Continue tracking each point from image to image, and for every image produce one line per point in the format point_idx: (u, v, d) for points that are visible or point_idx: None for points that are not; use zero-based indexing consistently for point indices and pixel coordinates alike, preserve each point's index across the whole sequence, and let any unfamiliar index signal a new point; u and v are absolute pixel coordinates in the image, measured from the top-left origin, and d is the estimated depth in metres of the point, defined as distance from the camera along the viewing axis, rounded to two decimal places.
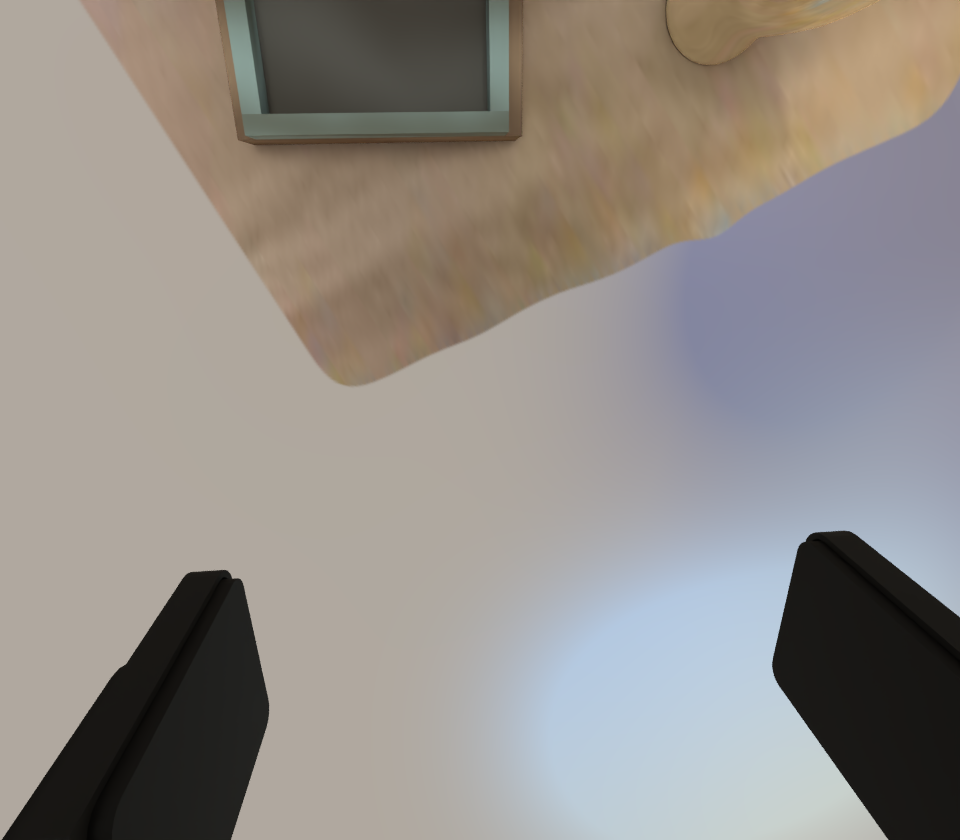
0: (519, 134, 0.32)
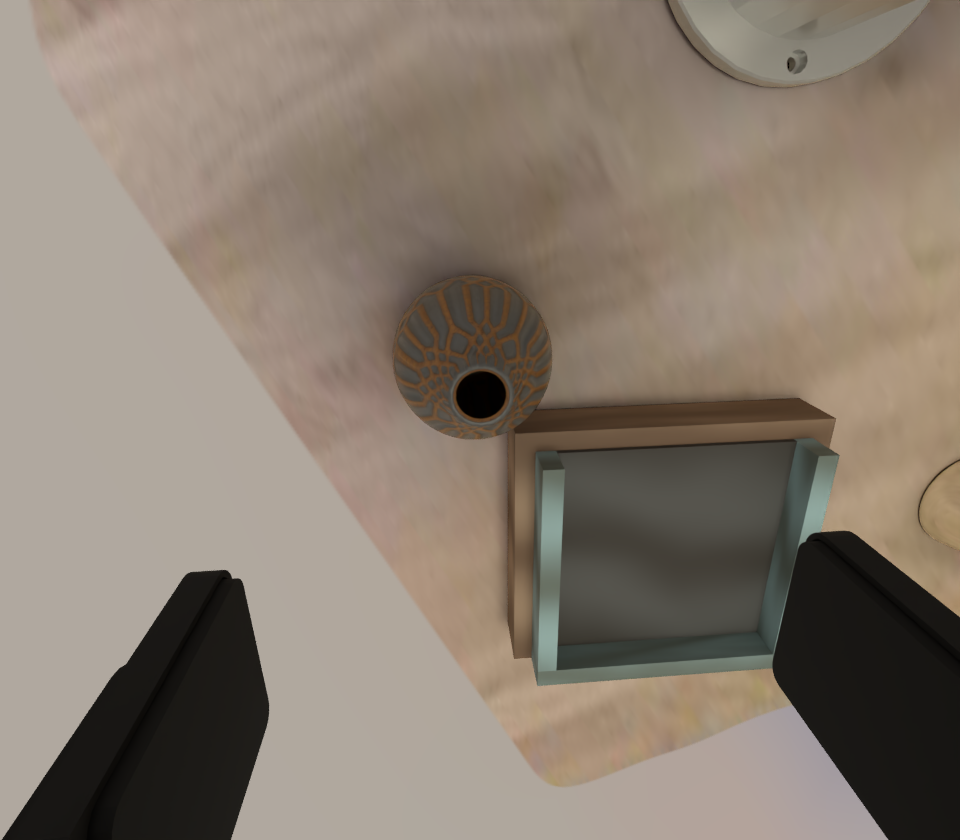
0: None
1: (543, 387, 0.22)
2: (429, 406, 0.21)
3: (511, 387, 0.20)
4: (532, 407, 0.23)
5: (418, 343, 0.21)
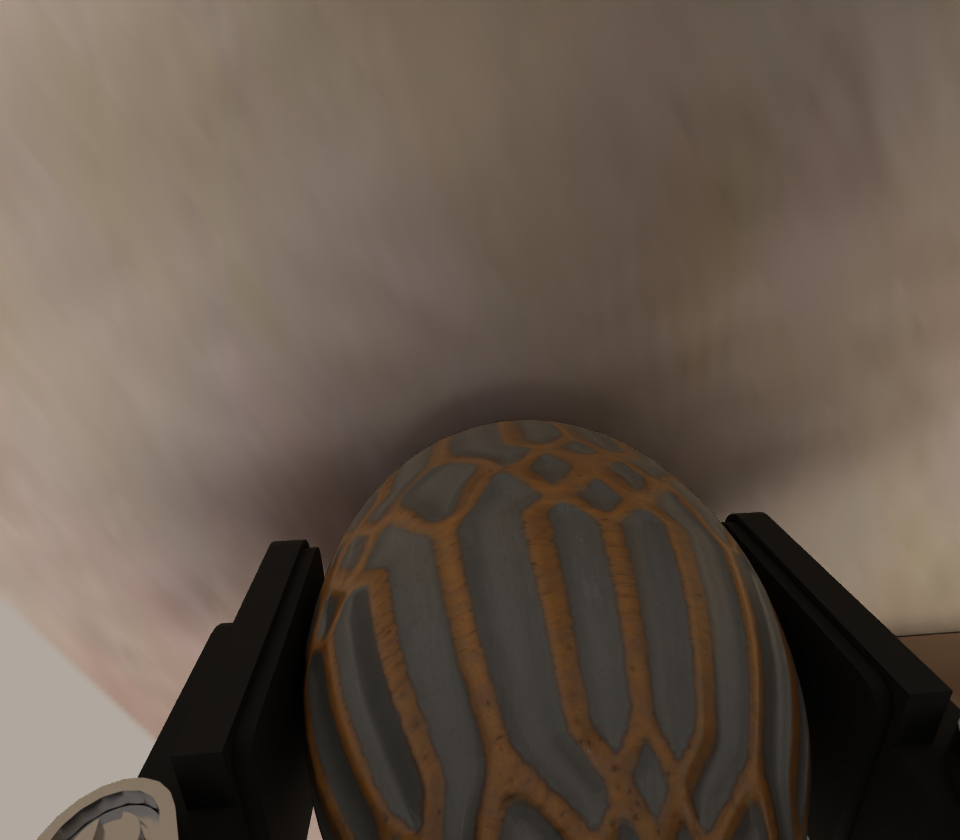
0: None
1: None
2: None
3: None
4: None
5: (364, 772, 0.05)
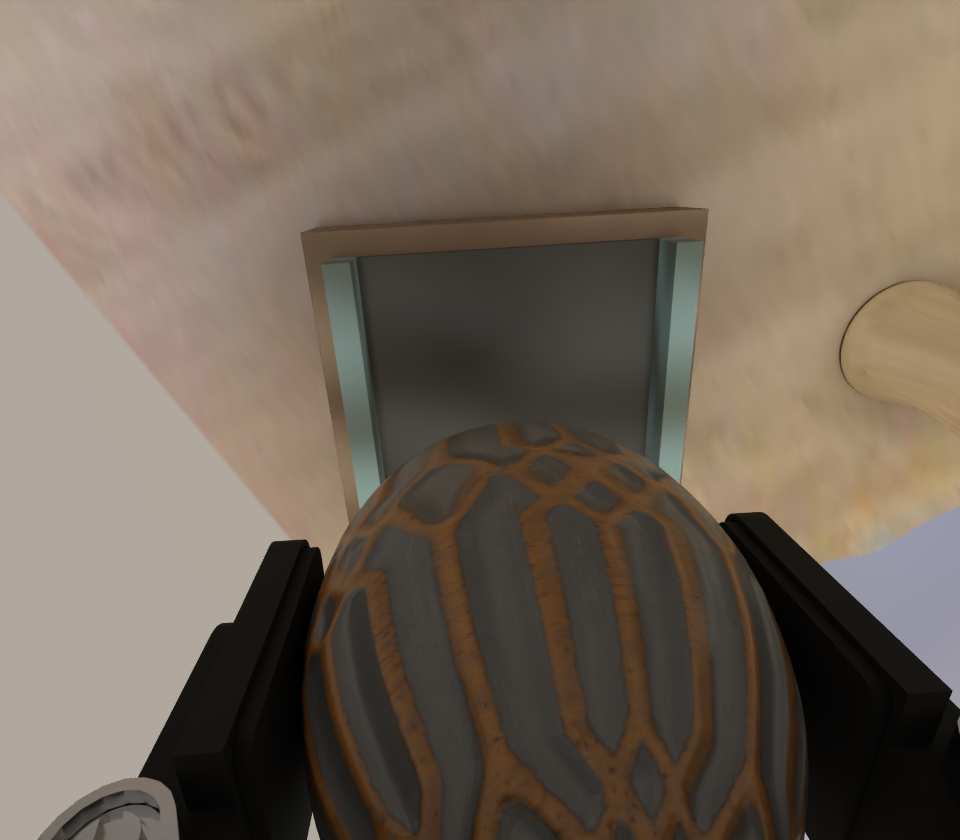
0: None
1: None
2: None
3: None
4: None
5: (362, 773, 0.05)
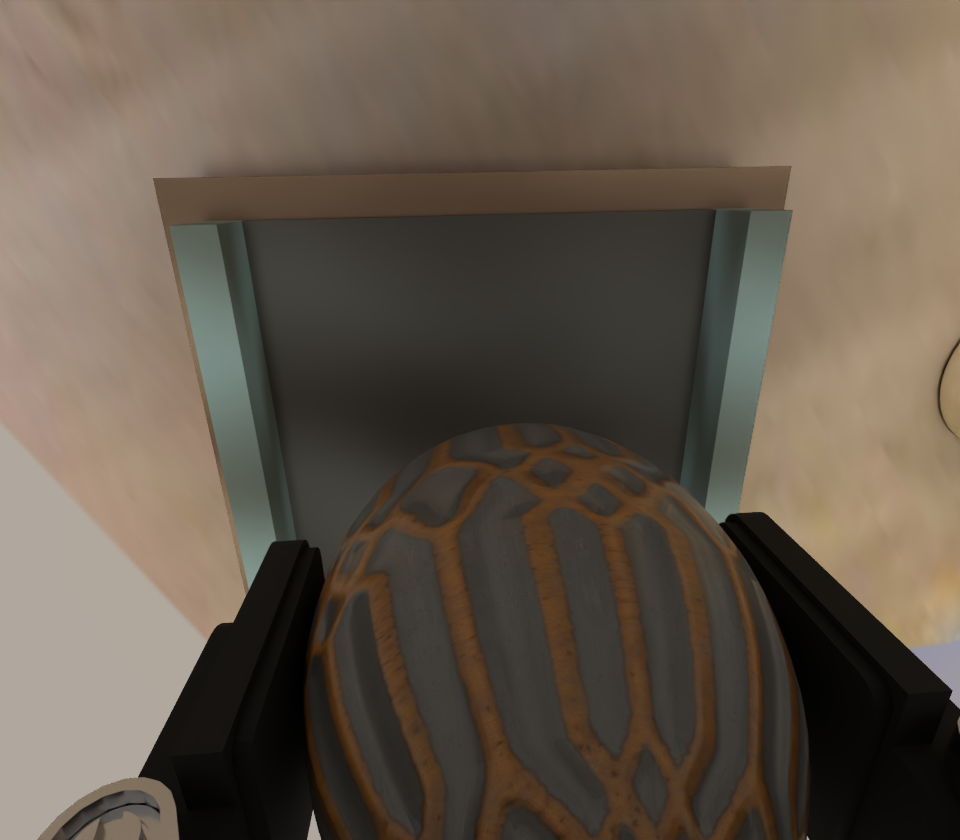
0: None
1: None
2: None
3: None
4: None
5: (364, 777, 0.05)
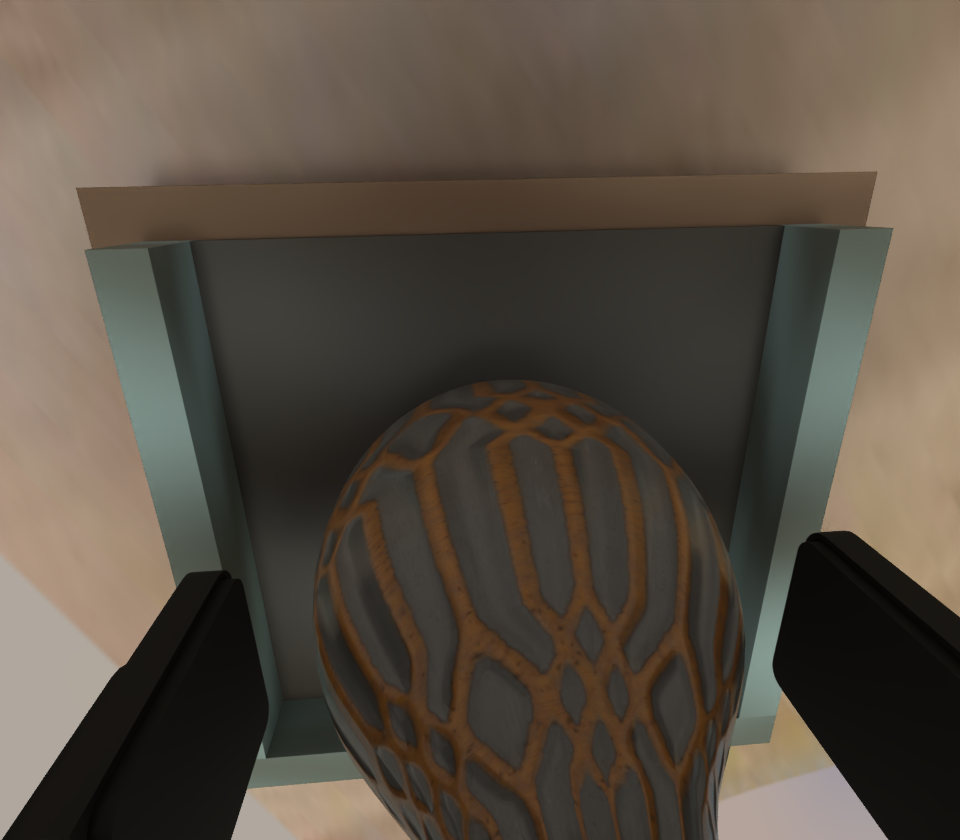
0: None
1: None
2: None
3: None
4: None
5: (364, 657, 0.07)
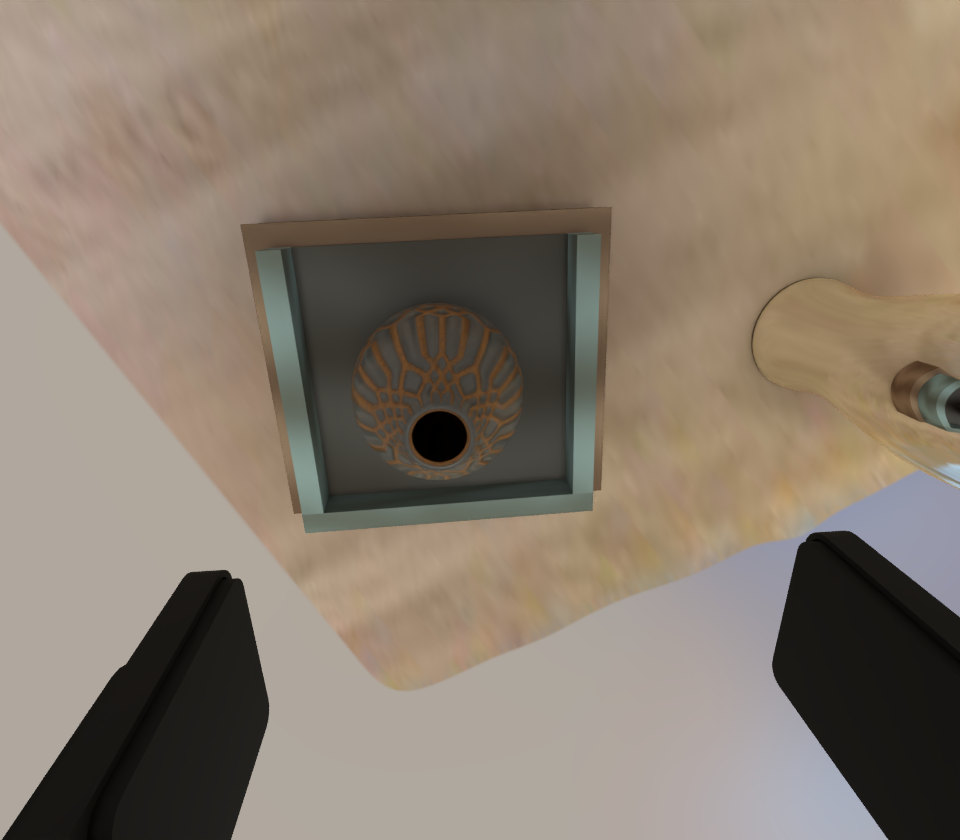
0: (598, 489, 0.29)
1: (513, 418, 0.21)
2: (389, 450, 0.20)
3: (471, 426, 0.18)
4: (503, 441, 0.21)
5: (371, 384, 0.20)
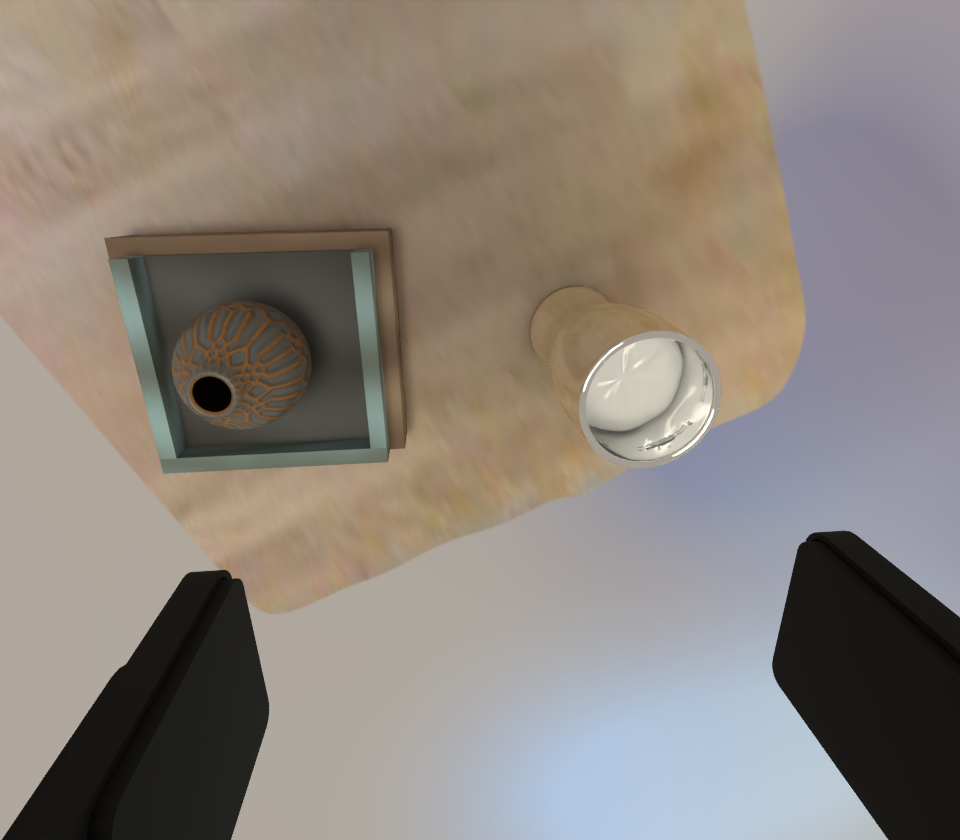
0: (402, 447, 0.38)
1: (286, 385, 0.29)
2: (190, 405, 0.28)
3: (232, 387, 0.26)
4: (279, 401, 0.29)
5: (176, 357, 0.28)
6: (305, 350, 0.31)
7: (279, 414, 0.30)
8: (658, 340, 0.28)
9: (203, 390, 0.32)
